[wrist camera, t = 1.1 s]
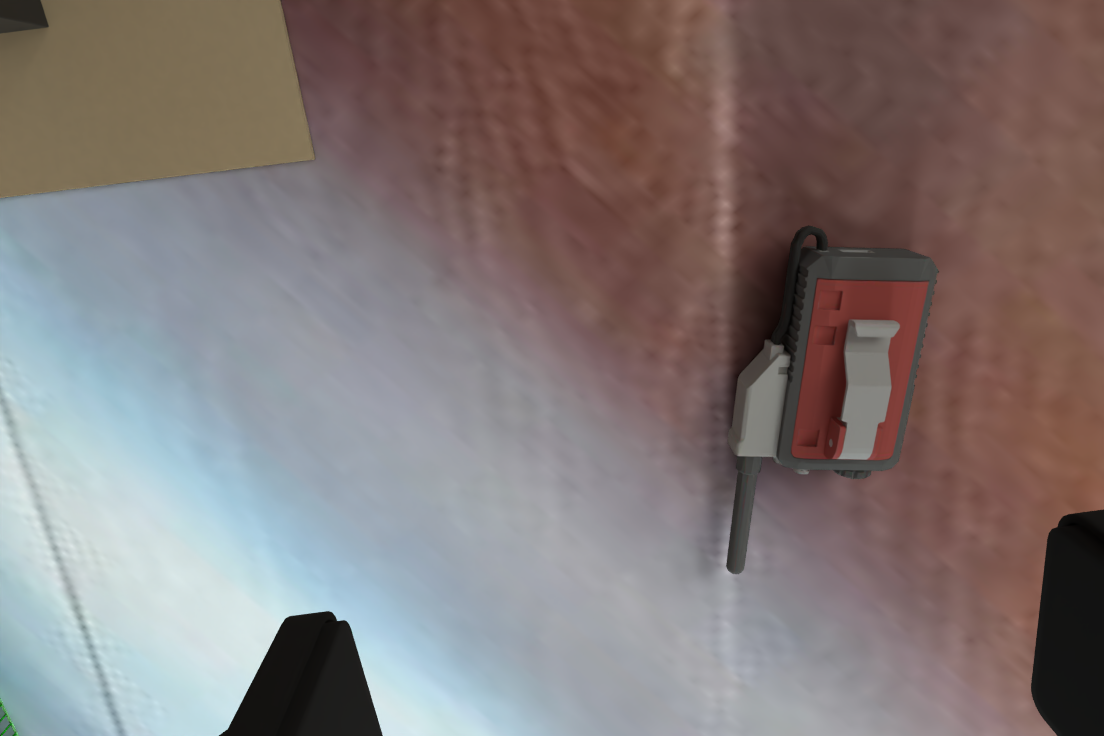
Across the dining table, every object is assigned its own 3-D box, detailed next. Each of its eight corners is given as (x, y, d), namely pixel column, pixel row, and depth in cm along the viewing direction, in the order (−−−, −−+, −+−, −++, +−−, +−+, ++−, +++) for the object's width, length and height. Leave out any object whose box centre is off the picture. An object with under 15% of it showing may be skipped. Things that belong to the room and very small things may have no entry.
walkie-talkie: (750, 221, 35) (710, 558, 42) (778, 233, 31) (729, 606, 38) (922, 225, 36) (855, 560, 42) (972, 239, 31) (889, 608, 38)
